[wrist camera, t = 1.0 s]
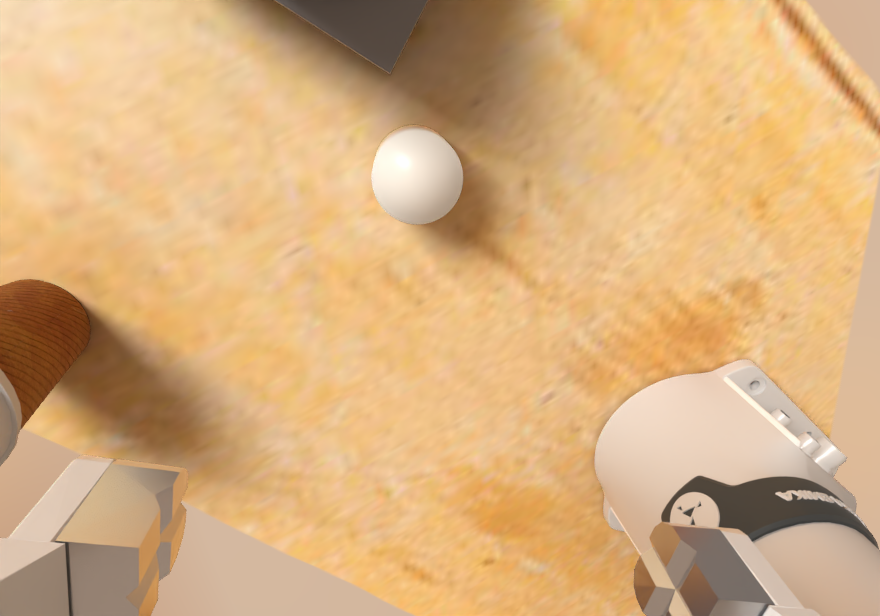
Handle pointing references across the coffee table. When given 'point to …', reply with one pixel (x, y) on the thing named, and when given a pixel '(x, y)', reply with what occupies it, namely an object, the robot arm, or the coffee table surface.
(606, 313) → the coffee table surface
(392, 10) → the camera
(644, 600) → the robot arm
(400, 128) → the white egg
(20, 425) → the disposable coffee cup
